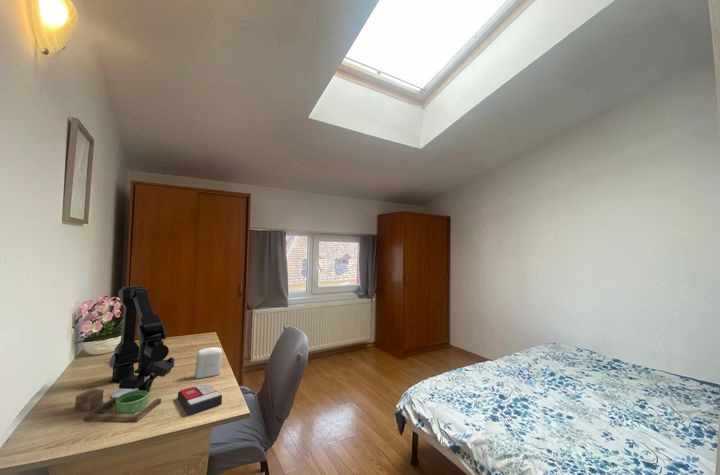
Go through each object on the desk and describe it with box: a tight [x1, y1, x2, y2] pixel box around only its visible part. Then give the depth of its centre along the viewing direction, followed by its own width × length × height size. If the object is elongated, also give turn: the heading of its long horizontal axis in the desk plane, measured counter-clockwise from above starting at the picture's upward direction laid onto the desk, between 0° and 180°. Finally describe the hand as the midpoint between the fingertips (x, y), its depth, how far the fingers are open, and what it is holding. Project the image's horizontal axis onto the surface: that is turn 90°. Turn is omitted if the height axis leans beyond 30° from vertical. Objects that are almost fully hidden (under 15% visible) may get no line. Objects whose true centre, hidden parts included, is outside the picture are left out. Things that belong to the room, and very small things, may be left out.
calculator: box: [177, 382, 223, 417], centre depth 105 cm, size 11×4×15 cm
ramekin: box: [115, 389, 149, 414], centre depth 98 cm, size 9×9×4 cm
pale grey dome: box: [110, 389, 136, 399], centre depth 107 cm, size 7×7×1 cm
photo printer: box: [194, 346, 223, 379], centre depth 126 cm, size 10×4×12 cm, turn 123°
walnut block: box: [74, 388, 105, 413], centre depth 98 cm, size 5×5×5 cm
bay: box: [83, 397, 162, 423], centre depth 96 cm, size 17×12×2 cm
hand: (144, 396), depth 105 cm, fingers closed
